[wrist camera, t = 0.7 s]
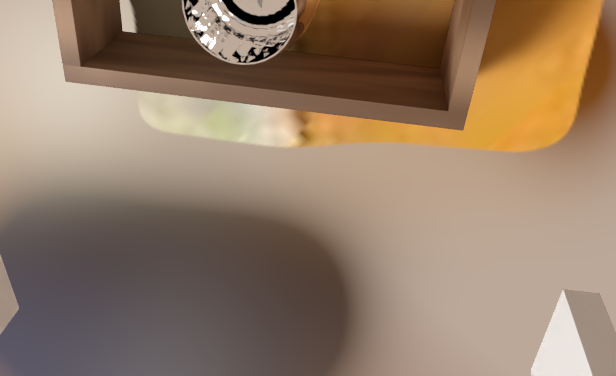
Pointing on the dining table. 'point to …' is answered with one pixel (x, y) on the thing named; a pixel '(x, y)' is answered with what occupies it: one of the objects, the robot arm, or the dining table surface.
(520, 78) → the dining table surface
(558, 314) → the robot arm
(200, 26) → the wineglass
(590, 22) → the dining table surface
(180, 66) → the rectangular wooden frame
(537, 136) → the dining table surface
